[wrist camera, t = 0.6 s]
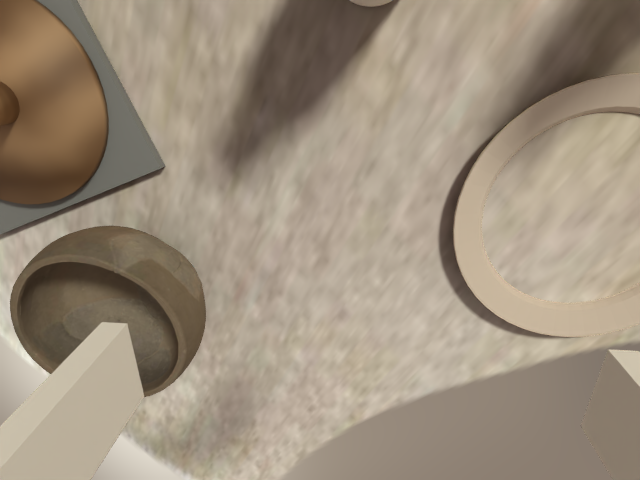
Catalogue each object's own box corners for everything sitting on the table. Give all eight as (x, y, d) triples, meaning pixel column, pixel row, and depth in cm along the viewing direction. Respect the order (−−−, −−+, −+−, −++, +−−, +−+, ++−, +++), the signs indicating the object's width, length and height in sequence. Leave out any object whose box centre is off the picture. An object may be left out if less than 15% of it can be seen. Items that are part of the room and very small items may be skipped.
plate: (452, 89, 36) (457, 90, 34) (778, 56, 33) (803, 56, 31) (446, 329, 46) (450, 340, 44) (698, 322, 43) (713, 334, 41)
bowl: (169, 367, 52) (128, 433, 42) (46, 280, 48) (-27, 331, 39) (252, 283, 46) (225, 338, 36) (119, 176, 42) (52, 207, 33)
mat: (-145, 31, 39) (-157, 30, 38) (33, -81, 34) (24, -85, 33) (1, 233, 46) (-6, 236, 45) (165, 166, 41) (160, 168, 40)
